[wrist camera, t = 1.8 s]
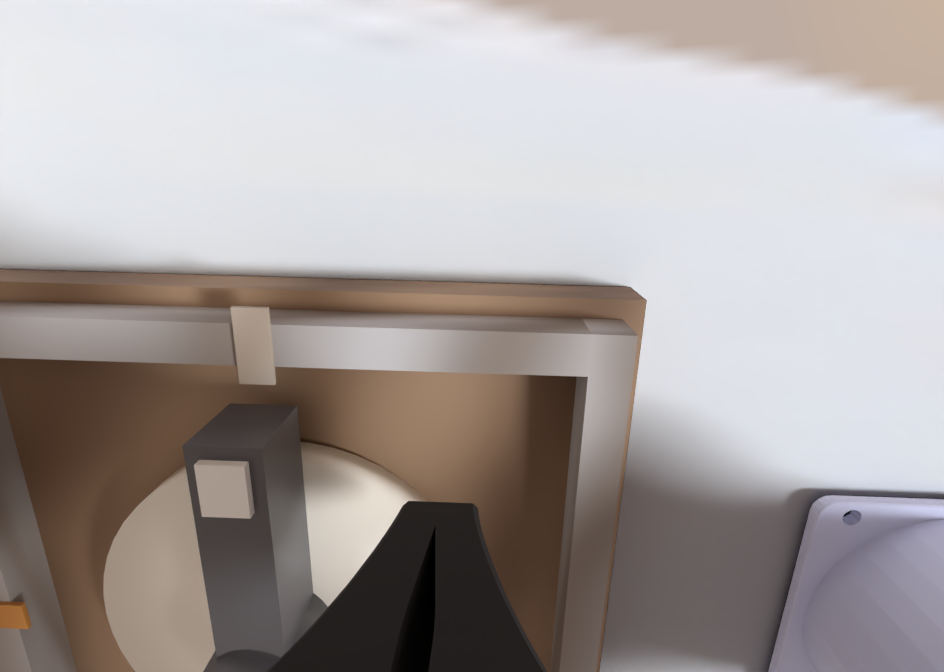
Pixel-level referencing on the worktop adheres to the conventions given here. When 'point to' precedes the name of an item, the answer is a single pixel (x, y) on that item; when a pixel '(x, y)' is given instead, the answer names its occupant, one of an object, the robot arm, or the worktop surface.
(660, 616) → the worktop surface
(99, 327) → the dial housing
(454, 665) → the robot arm
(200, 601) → the dial
